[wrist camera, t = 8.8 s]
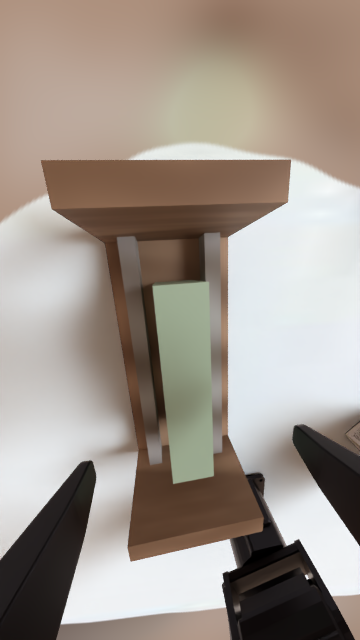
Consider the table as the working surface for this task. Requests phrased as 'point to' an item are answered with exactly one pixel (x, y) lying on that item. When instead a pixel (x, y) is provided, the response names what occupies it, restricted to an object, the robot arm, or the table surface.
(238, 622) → the robot arm
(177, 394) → the door panel
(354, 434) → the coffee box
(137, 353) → the cabinet base
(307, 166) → the table surface
